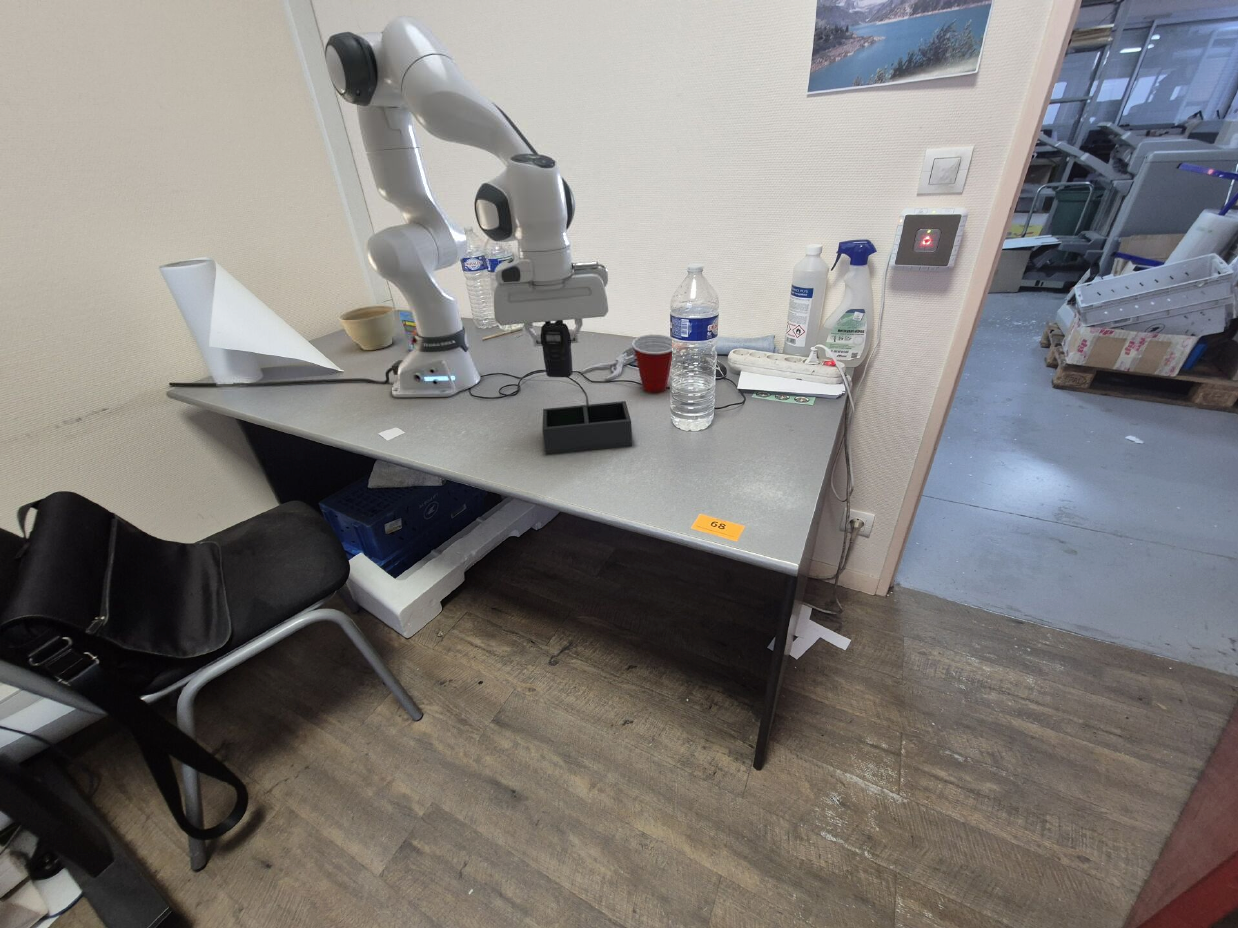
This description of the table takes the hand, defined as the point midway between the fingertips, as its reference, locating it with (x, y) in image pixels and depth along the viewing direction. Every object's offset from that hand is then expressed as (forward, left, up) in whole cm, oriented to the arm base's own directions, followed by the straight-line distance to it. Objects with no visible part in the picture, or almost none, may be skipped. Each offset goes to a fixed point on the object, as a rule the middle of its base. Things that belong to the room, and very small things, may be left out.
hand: (556, 343), depth 93 cm
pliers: (+13, +38, -21) cm, 45 cm away
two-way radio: (0, 0, -6) cm, 6 cm away
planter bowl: (-61, +76, -21) cm, 100 cm away
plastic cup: (+22, +22, -21) cm, 38 cm away
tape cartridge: (-44, +67, -21) cm, 83 cm away
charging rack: (+4, 0, -21) cm, 21 cm away
